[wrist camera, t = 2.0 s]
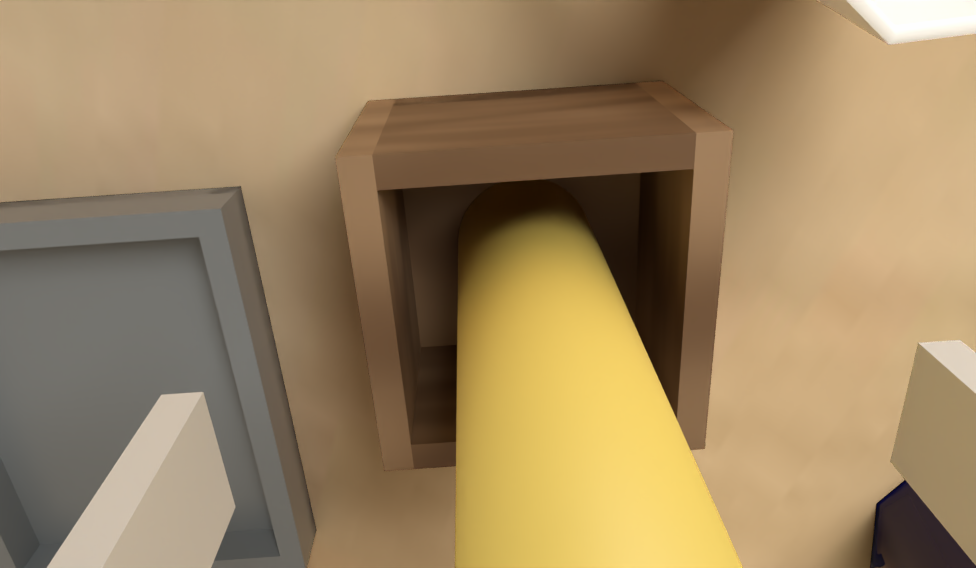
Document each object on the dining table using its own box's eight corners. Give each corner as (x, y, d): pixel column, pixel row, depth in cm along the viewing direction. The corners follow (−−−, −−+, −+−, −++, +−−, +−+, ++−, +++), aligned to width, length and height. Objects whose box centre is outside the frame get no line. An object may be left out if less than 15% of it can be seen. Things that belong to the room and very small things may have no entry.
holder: (368, 101, 21) (335, 157, 15) (663, 81, 21) (734, 130, 15) (401, 353, 24) (384, 471, 19) (651, 336, 24) (704, 448, 19)
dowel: (453, 182, 21) (438, 631, 7) (589, 172, 21) (824, 604, 7) (463, 303, 23) (466, 844, 9) (589, 294, 23) (778, 822, 9)
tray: (-121, 210, 22) (-174, 235, 20) (240, 186, 22) (220, 208, 20) (34, 549, 28) (4, 591, 26) (316, 529, 28) (306, 570, 26)
